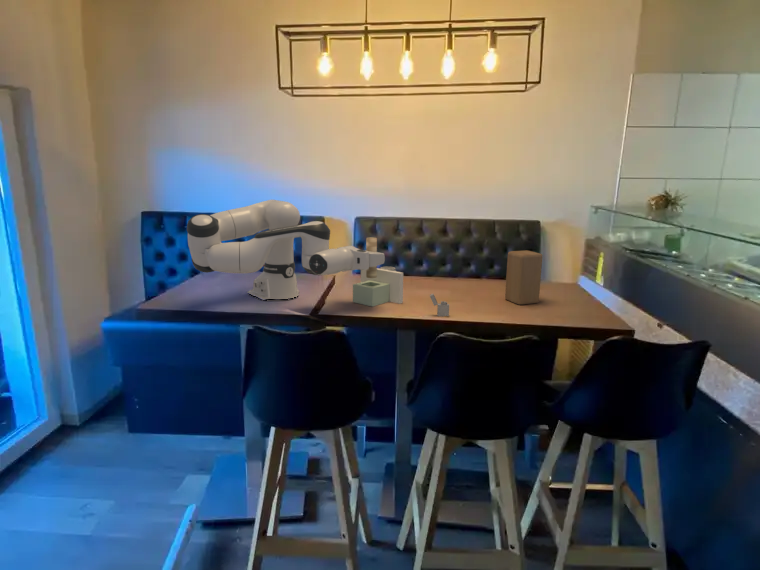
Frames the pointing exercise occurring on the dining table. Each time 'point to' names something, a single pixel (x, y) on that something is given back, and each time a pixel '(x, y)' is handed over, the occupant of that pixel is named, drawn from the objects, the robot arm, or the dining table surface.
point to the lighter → (440, 306)
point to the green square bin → (371, 293)
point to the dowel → (371, 246)
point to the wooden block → (523, 277)
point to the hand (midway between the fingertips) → (373, 253)
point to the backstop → (390, 278)
